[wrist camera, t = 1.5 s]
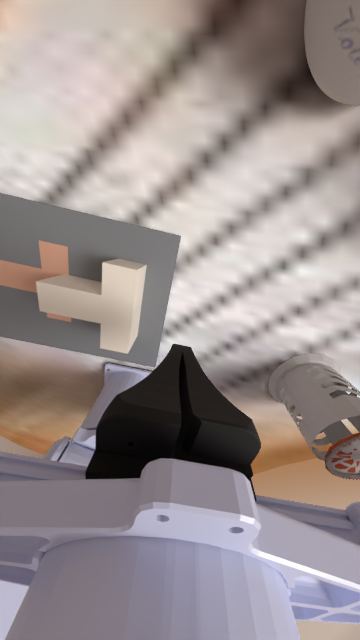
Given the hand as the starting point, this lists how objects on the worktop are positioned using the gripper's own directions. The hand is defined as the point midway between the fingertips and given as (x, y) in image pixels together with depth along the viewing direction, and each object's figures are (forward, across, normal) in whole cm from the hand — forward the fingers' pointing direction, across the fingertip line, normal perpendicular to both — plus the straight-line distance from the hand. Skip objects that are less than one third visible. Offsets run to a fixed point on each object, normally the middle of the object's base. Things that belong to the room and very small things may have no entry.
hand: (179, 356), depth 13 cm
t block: (+9, +10, 0) cm, 13 cm away
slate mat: (+9, +13, 0) cm, 16 cm away
